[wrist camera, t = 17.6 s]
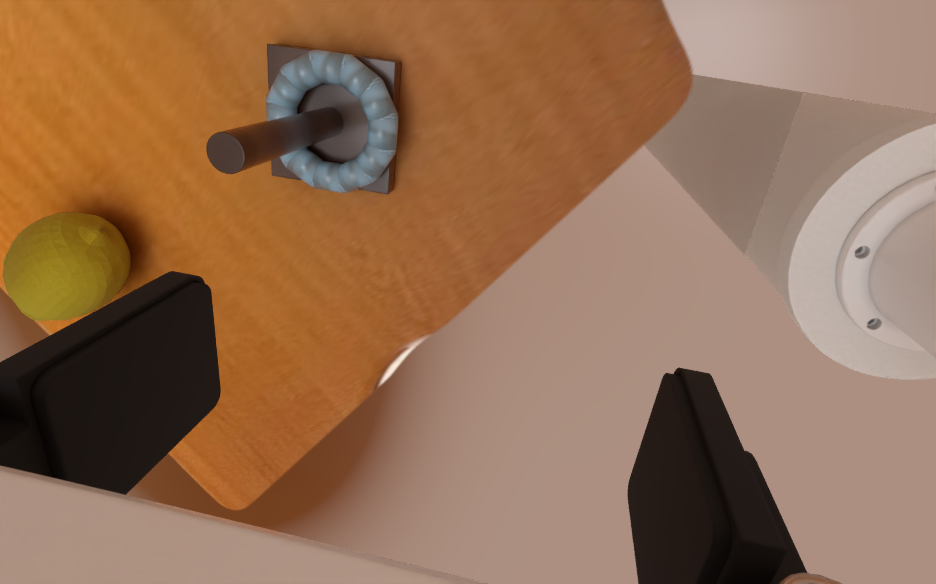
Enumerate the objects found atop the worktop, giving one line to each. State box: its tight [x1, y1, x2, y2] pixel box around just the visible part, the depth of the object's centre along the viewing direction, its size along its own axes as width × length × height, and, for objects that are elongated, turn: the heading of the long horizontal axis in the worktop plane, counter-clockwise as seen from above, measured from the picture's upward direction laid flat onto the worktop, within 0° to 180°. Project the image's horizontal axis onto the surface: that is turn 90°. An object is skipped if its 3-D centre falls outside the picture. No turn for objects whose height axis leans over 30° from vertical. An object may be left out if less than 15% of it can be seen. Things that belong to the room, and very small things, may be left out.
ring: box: [266, 50, 398, 193], centre depth 37 cm, size 9×9×2 cm
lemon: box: [3, 212, 131, 321], centre depth 43 cm, size 11×8×8 cm
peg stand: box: [206, 44, 401, 194], centre depth 32 cm, size 9×9×14 cm
